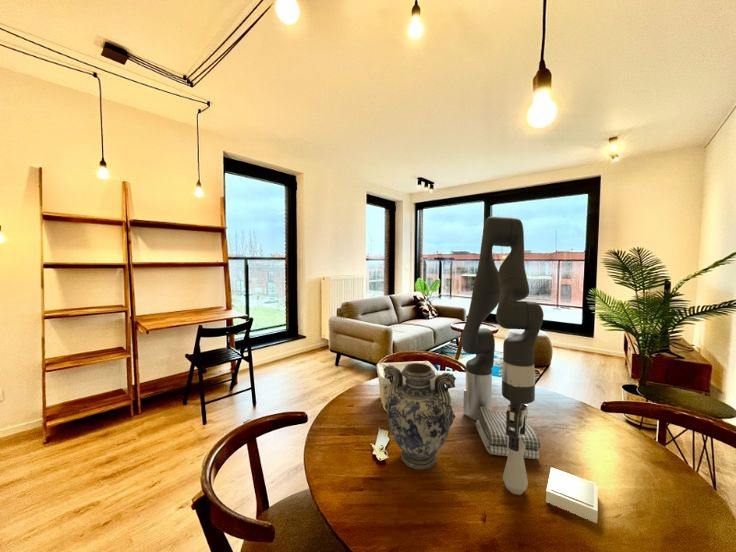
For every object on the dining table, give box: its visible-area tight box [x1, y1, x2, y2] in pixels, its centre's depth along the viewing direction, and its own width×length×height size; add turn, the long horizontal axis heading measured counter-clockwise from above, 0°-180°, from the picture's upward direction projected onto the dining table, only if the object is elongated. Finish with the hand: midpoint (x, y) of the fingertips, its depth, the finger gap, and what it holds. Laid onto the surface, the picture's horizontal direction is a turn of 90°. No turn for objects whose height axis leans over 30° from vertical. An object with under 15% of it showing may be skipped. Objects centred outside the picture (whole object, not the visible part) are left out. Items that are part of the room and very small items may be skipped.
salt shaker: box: [502, 439, 529, 496], centre depth 78 cm, size 6×6×13 cm
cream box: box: [376, 360, 441, 413], centre depth 124 cm, size 24×16×15 cm
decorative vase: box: [384, 363, 456, 471], centre depth 90 cm, size 21×19×28 cm
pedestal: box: [545, 467, 599, 524], centre depth 75 cm, size 10×10×3 cm
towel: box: [475, 407, 542, 460], centre depth 98 cm, size 15×18×8 cm
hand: (517, 441), depth 77 cm, fingers open, 8 cm apart
